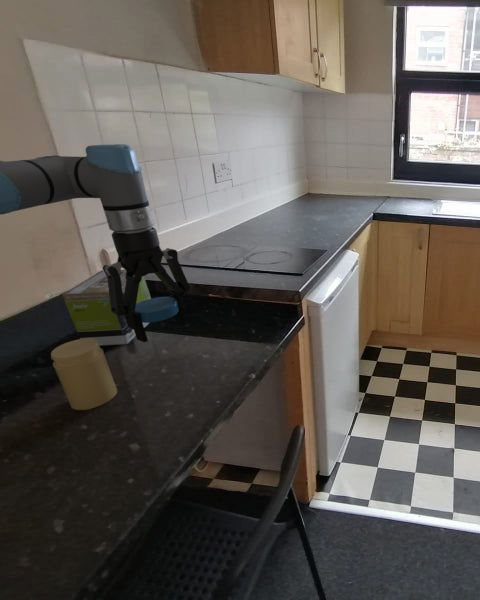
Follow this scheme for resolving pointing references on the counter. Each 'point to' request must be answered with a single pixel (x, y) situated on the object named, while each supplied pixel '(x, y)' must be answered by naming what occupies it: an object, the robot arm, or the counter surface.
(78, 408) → the jam jar
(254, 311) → the counter surface
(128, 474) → the counter surface
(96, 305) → the tea box
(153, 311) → the jar lid
